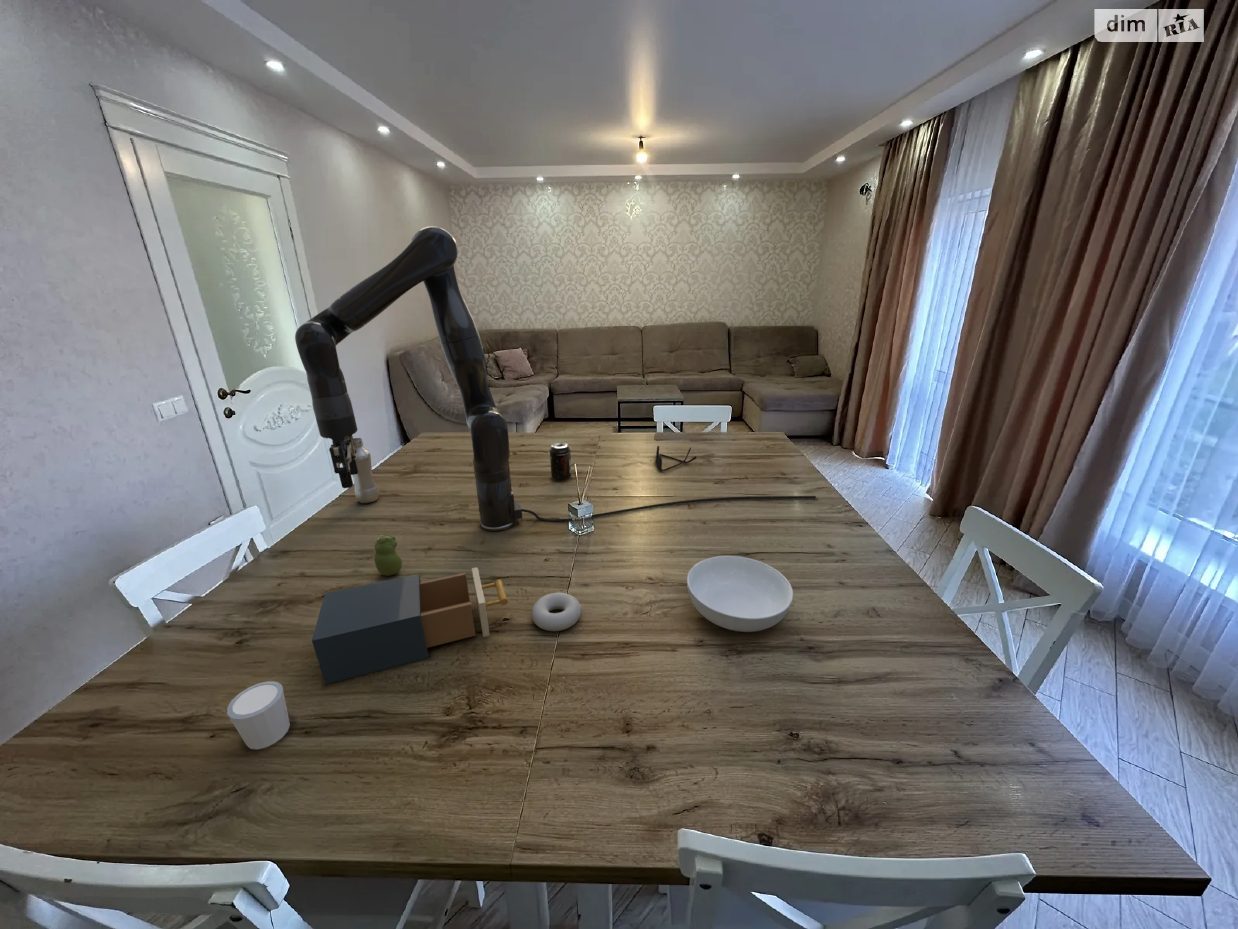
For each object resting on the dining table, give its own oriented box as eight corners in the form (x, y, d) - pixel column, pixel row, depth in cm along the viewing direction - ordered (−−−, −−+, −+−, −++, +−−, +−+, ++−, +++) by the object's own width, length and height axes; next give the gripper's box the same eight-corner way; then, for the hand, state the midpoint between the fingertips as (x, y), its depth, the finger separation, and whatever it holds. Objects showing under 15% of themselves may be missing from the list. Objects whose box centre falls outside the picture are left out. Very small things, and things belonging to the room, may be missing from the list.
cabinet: (426, 612, 100) (418, 573, 96) (428, 658, 88) (419, 615, 85) (336, 633, 94) (324, 593, 91) (325, 685, 83) (311, 640, 79)
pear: (373, 577, 112) (364, 539, 108) (391, 564, 116) (383, 528, 113) (391, 582, 110) (383, 544, 106) (409, 569, 115) (401, 533, 111)
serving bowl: (729, 662, 87) (732, 631, 84) (666, 598, 104) (667, 570, 102) (812, 625, 96) (817, 596, 93) (741, 571, 113) (744, 546, 110)
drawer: (502, 593, 104) (498, 562, 102) (512, 629, 94) (508, 596, 91) (403, 616, 98) (396, 584, 95) (402, 658, 87) (394, 623, 84)
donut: (569, 640, 92) (589, 607, 101) (568, 626, 91) (588, 594, 100) (523, 629, 96) (546, 598, 104) (521, 615, 94) (545, 585, 103)
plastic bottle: (371, 506, 146) (357, 444, 138) (351, 504, 147) (337, 442, 140) (385, 497, 152) (372, 437, 144) (366, 495, 153) (352, 435, 146)
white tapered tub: (258, 715, 77) (245, 682, 74) (303, 712, 78) (292, 679, 75) (230, 755, 71) (214, 720, 68) (279, 751, 71) (266, 716, 69)
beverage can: (575, 477, 166) (574, 444, 161) (563, 484, 160) (561, 450, 156) (560, 473, 169) (558, 440, 165) (547, 479, 164) (545, 446, 159)
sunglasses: (697, 472, 169) (698, 459, 167) (656, 472, 169) (656, 459, 167) (691, 455, 184) (692, 443, 182) (654, 455, 184) (654, 443, 182)
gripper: (348, 420, 103) (364, 489, 109) (357, 404, 115) (371, 467, 121) (308, 424, 100) (327, 494, 106) (322, 408, 113) (338, 472, 119)
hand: (350, 480), depth 114 cm, fingers open, 8 cm apart
